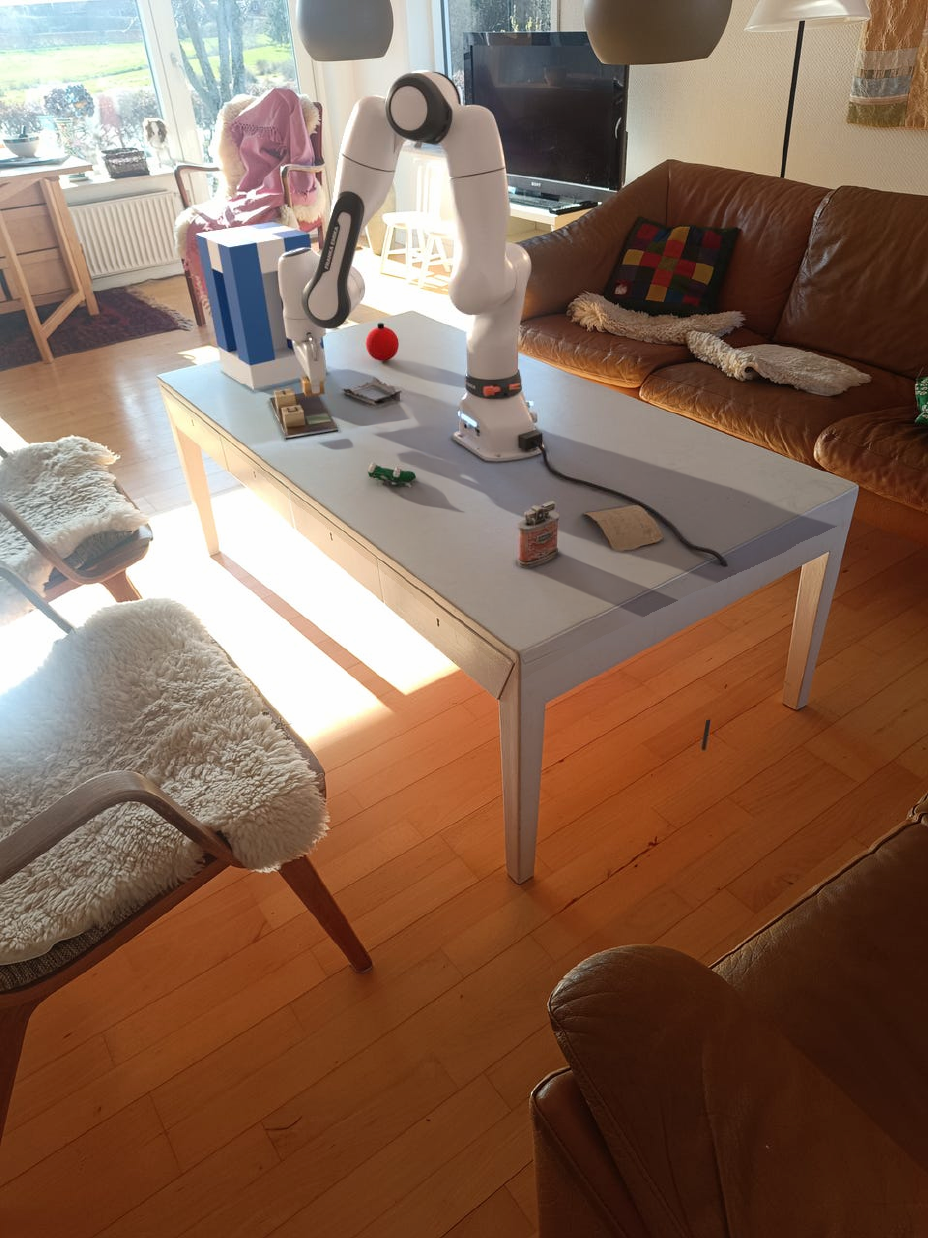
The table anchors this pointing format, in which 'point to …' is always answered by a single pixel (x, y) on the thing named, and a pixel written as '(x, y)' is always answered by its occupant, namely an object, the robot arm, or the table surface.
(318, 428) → the letter board
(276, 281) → the toy block
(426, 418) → the table surface
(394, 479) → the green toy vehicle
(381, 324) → the ornament
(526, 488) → the table surface
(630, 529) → the clay tablet
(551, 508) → the lighter
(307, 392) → the letter s tile
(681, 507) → the table surface
